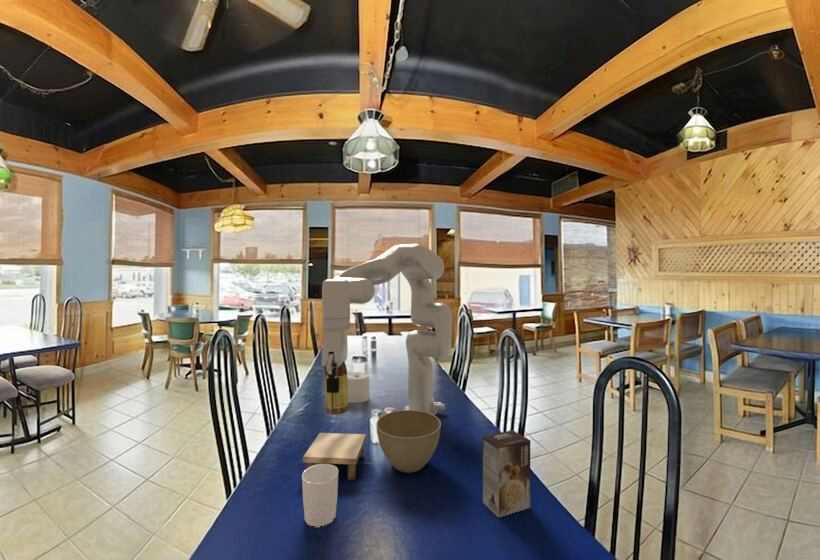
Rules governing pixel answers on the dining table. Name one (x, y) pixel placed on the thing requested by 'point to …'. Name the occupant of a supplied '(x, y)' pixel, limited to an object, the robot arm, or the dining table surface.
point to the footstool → (336, 450)
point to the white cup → (320, 494)
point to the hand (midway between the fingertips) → (336, 387)
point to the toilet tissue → (358, 387)
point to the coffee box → (506, 473)
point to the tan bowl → (408, 438)
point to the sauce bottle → (337, 401)
